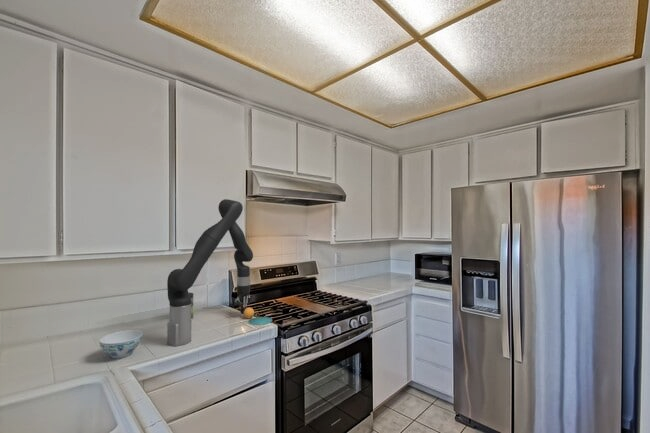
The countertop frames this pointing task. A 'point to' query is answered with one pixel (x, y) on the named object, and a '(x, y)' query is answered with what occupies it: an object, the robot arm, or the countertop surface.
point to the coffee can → (191, 304)
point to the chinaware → (120, 343)
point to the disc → (260, 320)
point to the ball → (248, 313)
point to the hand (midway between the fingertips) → (243, 313)
